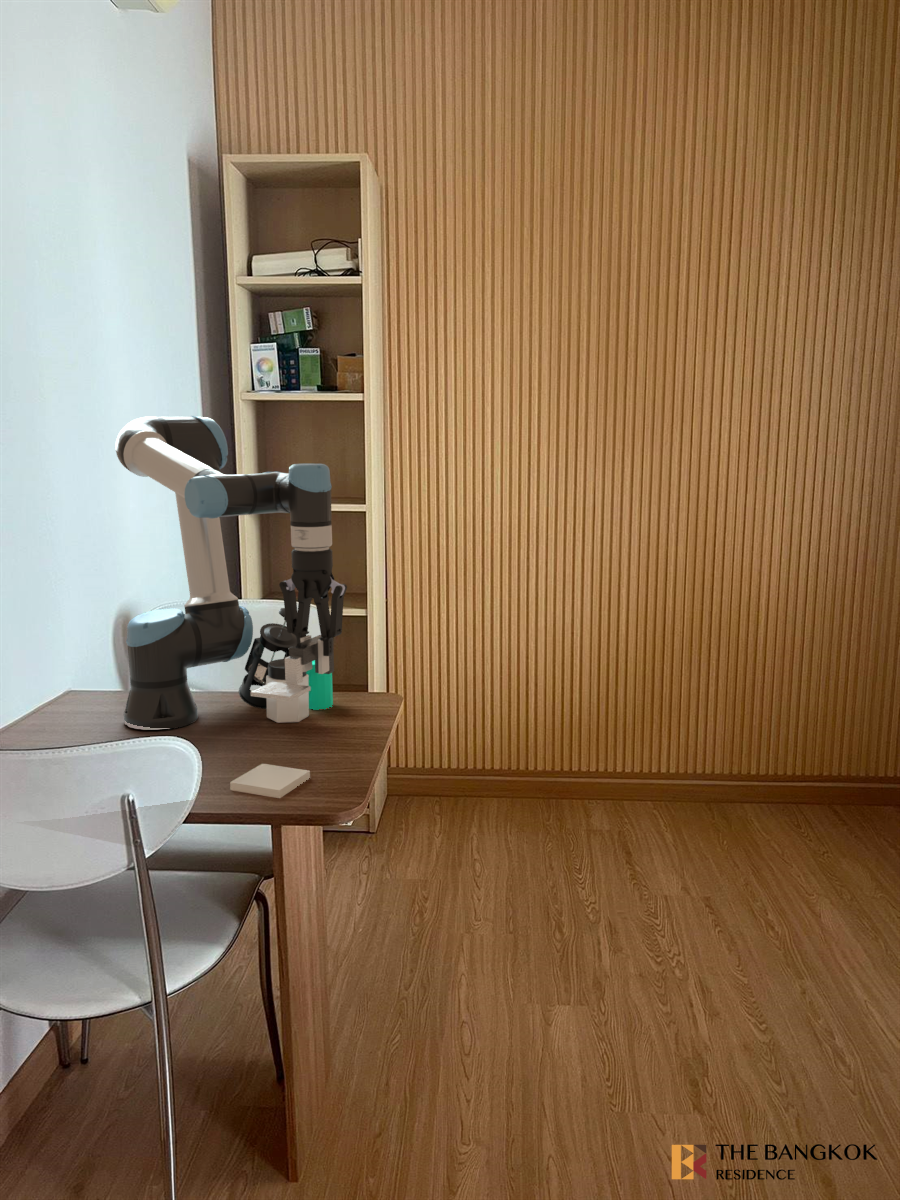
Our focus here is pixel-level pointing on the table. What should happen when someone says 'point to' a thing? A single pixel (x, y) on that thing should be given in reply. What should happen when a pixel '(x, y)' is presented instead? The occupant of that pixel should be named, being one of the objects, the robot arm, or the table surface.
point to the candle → (320, 689)
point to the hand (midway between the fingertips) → (315, 670)
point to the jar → (281, 708)
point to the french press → (257, 668)
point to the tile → (270, 780)
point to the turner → (295, 672)
